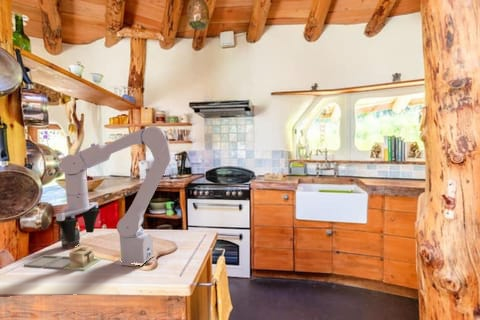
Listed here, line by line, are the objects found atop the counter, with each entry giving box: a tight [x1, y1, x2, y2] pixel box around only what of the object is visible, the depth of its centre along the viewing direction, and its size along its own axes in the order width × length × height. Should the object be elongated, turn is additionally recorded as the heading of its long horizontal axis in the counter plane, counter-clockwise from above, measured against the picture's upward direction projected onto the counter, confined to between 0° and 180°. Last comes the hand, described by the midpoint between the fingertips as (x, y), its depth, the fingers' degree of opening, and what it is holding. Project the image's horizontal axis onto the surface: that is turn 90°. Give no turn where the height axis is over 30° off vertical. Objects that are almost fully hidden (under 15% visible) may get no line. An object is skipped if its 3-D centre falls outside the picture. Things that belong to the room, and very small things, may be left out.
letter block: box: [68, 246, 95, 268], centre depth 85 cm, size 5×5×5 cm
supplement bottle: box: [59, 215, 82, 250], centre depth 100 cm, size 6×6×11 cm
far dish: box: [23, 254, 62, 269], centre depth 88 cm, size 7×7×1 cm
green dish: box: [64, 257, 102, 272], centre depth 85 cm, size 7×7×1 cm
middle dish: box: [43, 255, 70, 270], centre depth 87 cm, size 7×7×1 cm
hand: (81, 236), depth 85 cm, fingers open, 7 cm apart
